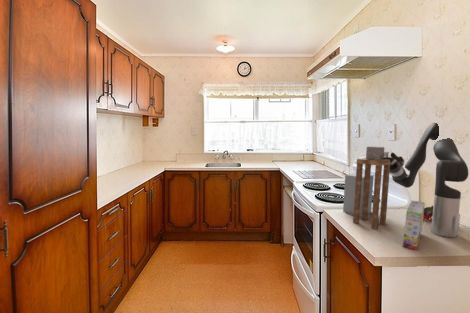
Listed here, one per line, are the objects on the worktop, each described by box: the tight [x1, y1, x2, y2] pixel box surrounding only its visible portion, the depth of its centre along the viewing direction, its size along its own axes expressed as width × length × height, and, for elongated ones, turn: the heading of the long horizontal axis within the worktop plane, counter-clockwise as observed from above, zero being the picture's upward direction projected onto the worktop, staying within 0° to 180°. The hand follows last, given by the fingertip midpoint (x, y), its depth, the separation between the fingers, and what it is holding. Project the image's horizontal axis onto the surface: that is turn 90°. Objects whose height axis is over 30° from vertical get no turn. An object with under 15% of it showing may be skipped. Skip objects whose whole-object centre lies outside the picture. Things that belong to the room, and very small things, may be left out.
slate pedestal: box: [342, 172, 375, 217], centre depth 154 cm, size 10×12×21 cm
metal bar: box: [365, 146, 389, 161], centre depth 136 cm, size 6×18×6 cm, turn 135°
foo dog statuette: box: [423, 205, 433, 222], centre depth 141 cm, size 8×10×12 cm
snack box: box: [402, 200, 426, 251], centre depth 115 cm, size 21×6×15 cm, turn 143°
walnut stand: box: [352, 157, 390, 230], centre depth 134 cm, size 11×10×32 cm
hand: (383, 153), depth 138 cm, fingers open, 8 cm apart
